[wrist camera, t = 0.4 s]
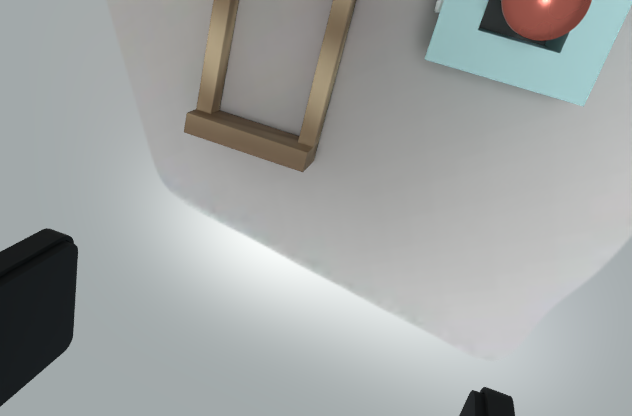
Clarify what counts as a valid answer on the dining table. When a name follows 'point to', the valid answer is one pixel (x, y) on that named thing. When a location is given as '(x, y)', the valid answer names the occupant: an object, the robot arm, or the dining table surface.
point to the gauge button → (544, 17)
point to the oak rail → (251, 134)
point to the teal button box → (528, 49)
